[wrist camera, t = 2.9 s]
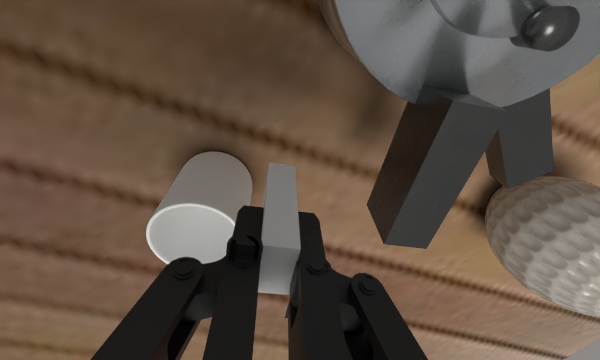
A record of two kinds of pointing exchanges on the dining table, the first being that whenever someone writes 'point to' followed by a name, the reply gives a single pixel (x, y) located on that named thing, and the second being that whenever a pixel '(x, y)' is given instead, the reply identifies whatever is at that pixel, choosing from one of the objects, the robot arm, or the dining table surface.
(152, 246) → the cup
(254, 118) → the dining table surface
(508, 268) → the vase
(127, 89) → the dining table surface
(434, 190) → the lid
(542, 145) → the pot
